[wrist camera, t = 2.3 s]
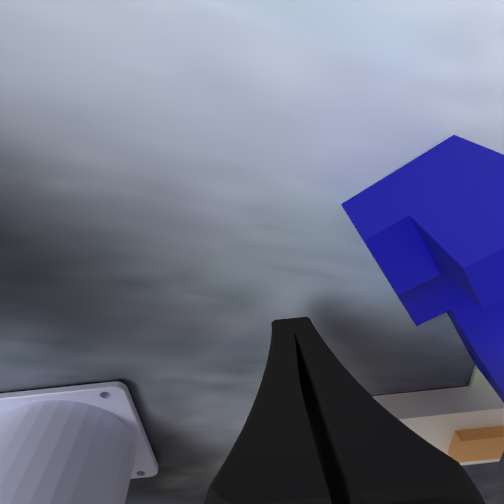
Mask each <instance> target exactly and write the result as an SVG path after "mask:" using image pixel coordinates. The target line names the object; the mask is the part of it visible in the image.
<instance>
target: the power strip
mask: <svg viewBox="0 0 504 504" xmlns="http://www.w3.org/2000/svg"><path fill="white" fill-rule="evenodd" d="M372 397H373V398H374V399H375V400H376V401H377V402H379V403H380V404H381V405H382V406H383V407H384V408H385V409H386V410H388V411H389V412H390V413H391V414H392V415H394V416H395V417H396V418H397V419H399V420H400V421H401V422H402V423H403V424H405V425H406V426H407V427H408V428H410V429H411V430H412V431H414V432H415V433H416V434H418V435H419V436H420V437H422V438H423V439H425V440H426V441H427V442H429V443H430V444H432V445H433V446H435V447H436V448H438V449H439V450H441V451H442V452H444V453H445V454H447V455H448V456H450V457H451V458H453V459H454V460H456V461H457V462H459V463H460V465H471V464H480V463H490V462H499V461H500V458H501V456H502V454H503V452H504V403H503V401H502V400H501V399H500V397H499V396H498V395H497V393H496V392H495V390H494V389H493V388H492V387H486V388H477V389H470V388H469V386H465V387H455V388H446V389H436V390H427V391H417V392H407V393H398V394H388V395H379V396H372Z"/></svg>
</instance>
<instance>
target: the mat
mask: <svg viewBox="0 0 504 504" xmlns="http://www.w3.org/2000/svg"><path fill="white" fill-rule="evenodd" d="M468 386H469V388H470V389H477V388H486V387H492V386H491V385H490V384H489V382H488V381H487V380H486V378H485V377H484V376H483V374H482V373H481V372H480V370H479V369H478V368H477V366H476V365H475V366H474V370H473V373H472V376H471V379H470V382H469V385H468Z"/></svg>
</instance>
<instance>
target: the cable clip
mask: <svg viewBox="0 0 504 504" xmlns="http://www.w3.org/2000/svg"><path fill="white" fill-rule="evenodd" d="M341 205H342V207H343V208H344V210H345V211H346V213H347V215H348V216H349V218H350V220H351V221H352V223H353V224H354V226H355V228H356V229H357V231H358V233H359V234H360V236H361V237H362V239H363V241H364V242H365V244H366V246H367V247H368V249H369V250H370V252H371V254H372V255H373V257H374V259H375V260H376V262H377V263H378V265H379V267H380V268H381V270H382V271H383V273H384V275H385V276H386V278H387V280H388V281H389V283H390V284H391V286H392V288H393V289H394V291H395V293H396V294H397V296H398V297H399V299H400V301H401V302H402V304H403V305H404V307H405V309H406V310H407V312H408V313H409V315H410V317H411V318H412V320H413V321H414V323H415V324H416V326H418V325H420V324H422V323H424V322H426V321H428V320H430V319H432V318H434V317H436V316H438V315H441V314H443V313H445V312H447V313H448V315H449V317H450V319H451V321H452V323H453V324H454V326H455V328H456V330H457V332H458V334H459V336H460V337H461V339H462V341H463V343H464V345H465V347H466V348H467V350H468V352H469V354H470V356H471V358H472V359H473V361H474V363H475V365H476V366H477V368H478V369H479V370H480V372H481V373H482V374H483V376H484V377H485V378H486V380H487V381H488V382H489V384H490V385H491V386H492V388H493V389H494V390H495V392H496V393H497V395H498V396H499V397H500V399H501V400H502V401H503V403H504V155H503V154H500V153H498V152H495V151H493V150H490V149H488V148H485V147H483V146H480V145H478V144H475V143H473V142H470V141H468V140H465V139H463V138H460V137H458V136H455V135H453V136H452V137H450V138H448V139H447V140H445V141H443V142H442V143H440V144H439V145H437V146H435V147H434V148H432V149H430V150H429V151H427V152H426V153H424V154H422V155H421V156H419V157H417V158H416V159H414V160H413V161H411V162H409V163H408V164H406V165H404V166H403V167H401V168H400V169H398V170H396V171H395V172H393V173H391V174H390V175H388V176H387V177H385V178H383V179H382V180H380V181H378V182H377V183H375V184H374V185H372V186H370V187H369V188H367V189H365V190H364V191H362V192H360V193H359V194H357V195H356V196H354V197H352V198H351V199H349V200H347V201H346V202H344V203H343V204H341Z"/></svg>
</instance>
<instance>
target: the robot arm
mask: <svg viewBox="0 0 504 504" xmlns="http://www.w3.org/2000/svg"><path fill="white" fill-rule="evenodd" d="M157 473H158V463H157V461H156V458H155V456H154V453H153V451H152V448H151V446H150V443H149V441H148V438H147V436H146V433H145V431H144V428H143V426H142V423H141V421H140V418H139V415H138V413H137V410H136V408H135V405H134V403H133V400H132V398H131V395H130V393H129V390H128V388H127V386H126V385H125V384H124V383H122V382H117V381H115V382H105V383H96V384H86V385H76V386H67V387H57V388H48V389H38V390H29V391H19V392H10V393H0V504H125V501H126V497H127V492H128V488H129V484H130V480H131V479H134V478H144V477H152V476H155V475H156V474H157ZM204 504H485V502H484V500H483V498H482V496H481V495H480V493H479V491H478V489H477V488H476V486H475V485H474V483H473V482H472V480H471V479H470V477H469V476H468V475H467V473H466V472H465V470H464V469H463V468H462V466H461V465H460V463H459V462H457V461H456V460H454V459H453V458H451V457H450V456H448V455H447V454H445V453H444V452H442V451H441V450H439V449H438V448H436V447H435V446H433V445H432V444H430V443H429V442H427V441H426V440H425V439H423V438H422V437H420V436H419V435H418V434H416V433H415V432H414V431H412V430H411V429H410V428H408V427H407V426H406V425H405V424H403V423H402V422H401V421H400V420H399V419H397V418H396V417H395V416H394V415H392V414H391V413H390V412H389V411H388V410H386V409H385V408H384V407H383V406H382V405H381V404H380V403H379V402H377V401H376V400H375V399H374V398H373V397H372V396H371V395H370V394H369V393H368V392H367V391H366V390H365V389H364V388H363V387H362V386H361V385H360V384H359V383H358V382H357V381H356V380H355V379H354V378H353V377H352V376H351V374H350V373H349V372H348V371H347V370H346V369H345V368H344V367H343V365H342V364H341V363H340V362H339V361H338V359H337V358H336V357H335V356H334V354H333V353H332V352H331V350H330V349H329V348H328V346H327V345H326V344H325V342H324V341H323V340H322V338H321V337H320V335H319V334H318V332H317V331H316V329H315V327H314V326H313V324H312V322H311V320H310V319H309V318H308V317H300V318H291V319H281V320H274V321H273V322H272V337H271V345H270V351H269V355H268V360H267V364H266V368H265V372H264V375H263V378H262V382H261V385H260V388H259V391H258V394H257V396H256V399H255V402H254V404H253V407H252V409H251V411H250V414H249V416H248V418H247V420H246V423H245V425H244V427H243V429H242V431H241V433H240V435H239V437H238V439H237V441H236V442H235V444H234V446H233V448H232V450H231V452H230V454H229V455H228V457H227V459H226V461H225V462H224V464H223V465H222V467H221V469H220V470H219V472H218V473H217V475H216V477H215V478H214V480H213V481H212V483H211V485H210V487H209V490H208V493H207V496H206V499H205V502H204Z"/></svg>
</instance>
